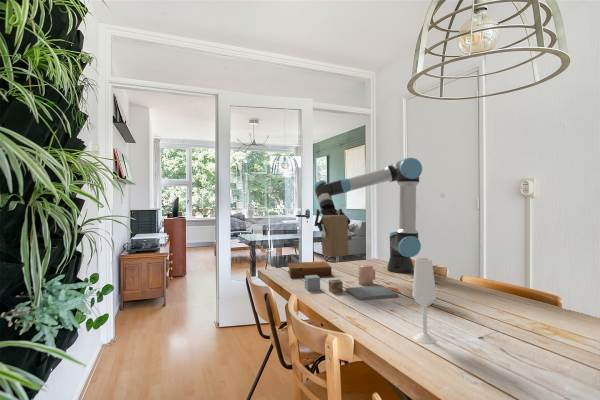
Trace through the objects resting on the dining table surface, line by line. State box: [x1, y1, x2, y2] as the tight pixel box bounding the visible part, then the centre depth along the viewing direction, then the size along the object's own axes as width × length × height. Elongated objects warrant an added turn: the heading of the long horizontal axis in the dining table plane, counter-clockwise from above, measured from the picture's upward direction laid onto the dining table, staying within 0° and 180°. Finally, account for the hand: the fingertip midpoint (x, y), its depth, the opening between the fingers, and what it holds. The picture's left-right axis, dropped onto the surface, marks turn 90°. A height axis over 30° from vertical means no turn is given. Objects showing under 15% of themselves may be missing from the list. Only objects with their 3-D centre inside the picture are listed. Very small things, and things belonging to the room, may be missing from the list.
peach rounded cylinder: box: [358, 264, 376, 287], centre depth 172 cm, size 8×7×9 cm
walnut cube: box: [328, 279, 344, 294], centre depth 159 cm, size 5×5×5 cm
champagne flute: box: [412, 257, 438, 345], centre depth 103 cm, size 7×7×24 cm
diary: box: [287, 260, 333, 279], centre depth 199 cm, size 23×19×6 cm
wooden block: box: [320, 214, 349, 258], centre depth 171 cm, size 10×10×20 cm
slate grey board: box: [345, 284, 399, 301], centre depth 154 cm, size 18×16×1 cm
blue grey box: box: [304, 275, 321, 292], centre depth 164 cm, size 6×6×6 cm
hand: (336, 235), depth 169 cm, fingers closed on wooden block, 11 cm apart
